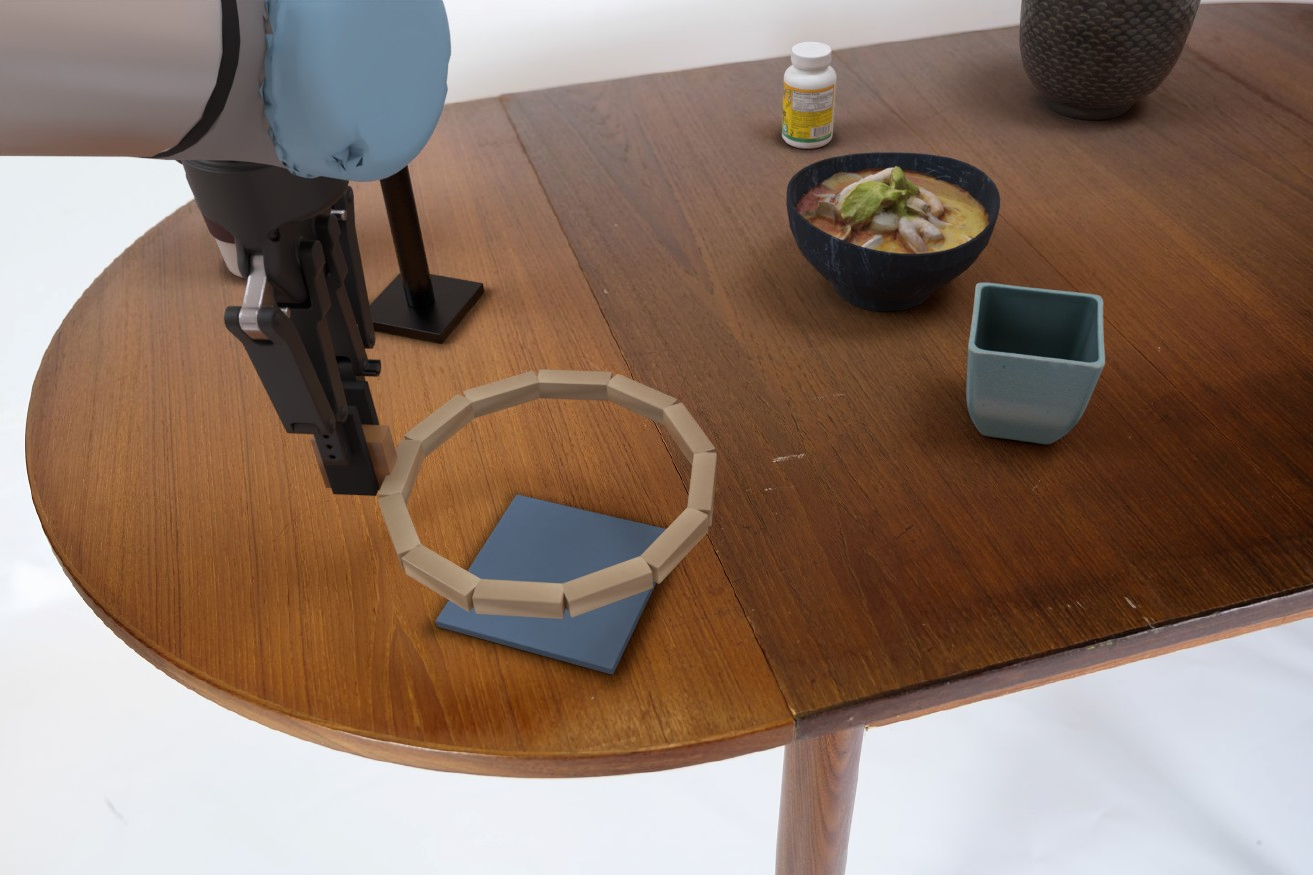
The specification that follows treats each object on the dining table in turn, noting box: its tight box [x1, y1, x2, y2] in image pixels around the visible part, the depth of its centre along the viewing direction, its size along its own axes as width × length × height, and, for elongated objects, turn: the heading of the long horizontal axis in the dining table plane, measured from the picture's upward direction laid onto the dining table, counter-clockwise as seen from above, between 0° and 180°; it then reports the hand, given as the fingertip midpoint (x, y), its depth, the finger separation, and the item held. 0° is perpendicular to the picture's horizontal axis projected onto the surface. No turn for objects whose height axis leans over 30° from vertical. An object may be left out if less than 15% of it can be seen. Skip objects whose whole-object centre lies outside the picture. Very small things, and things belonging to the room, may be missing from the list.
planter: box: [1018, 0, 1202, 121], centre depth 118 cm, size 17×17×16 cm
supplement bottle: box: [781, 41, 837, 150], centre depth 116 cm, size 5×5×10 cm
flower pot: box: [965, 282, 1106, 445], centre depth 81 cm, size 9×9×9 cm
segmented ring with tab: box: [309, 368, 718, 619], centre depth 68 cm, size 24×20×4 cm
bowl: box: [785, 151, 1001, 312], centre depth 95 cm, size 17×17×10 cm
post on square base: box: [369, 164, 485, 344], centre depth 93 cm, size 8×8×14 cm
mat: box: [435, 494, 667, 676], centre depth 74 cm, size 12×12×1 cm
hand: (361, 477), depth 70 cm, fingers closed on segmented ring with tab, 2 cm apart
